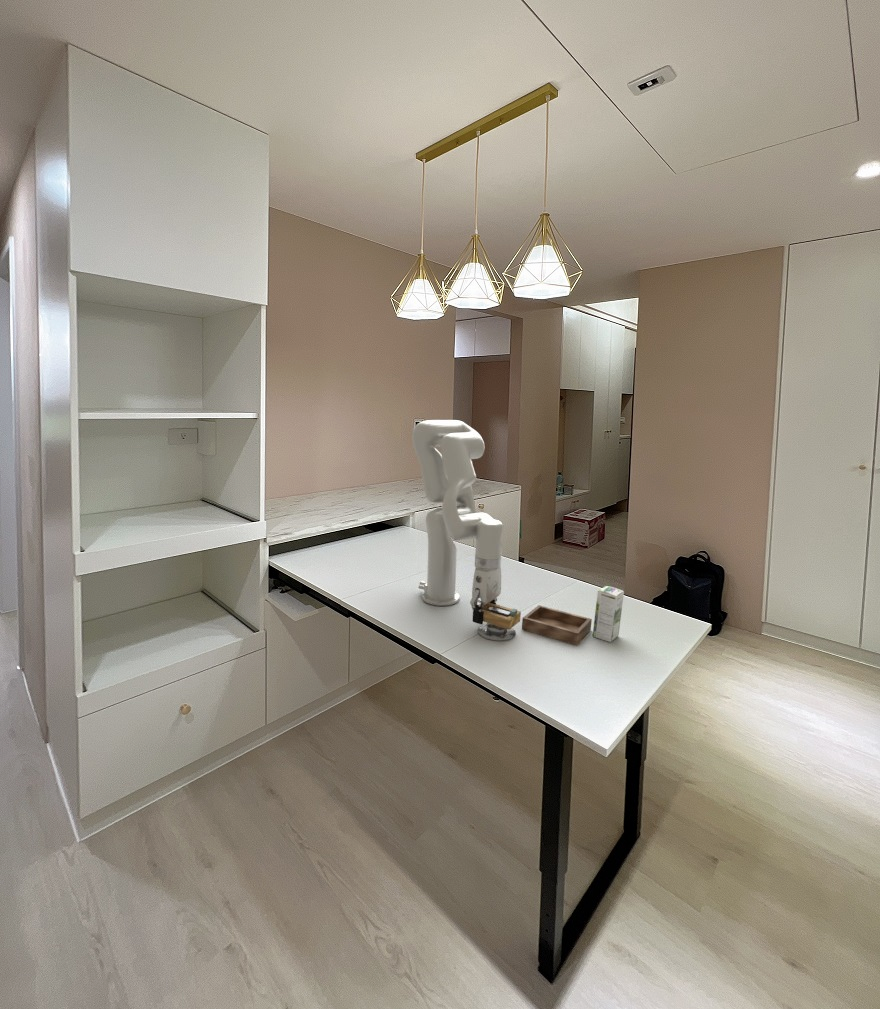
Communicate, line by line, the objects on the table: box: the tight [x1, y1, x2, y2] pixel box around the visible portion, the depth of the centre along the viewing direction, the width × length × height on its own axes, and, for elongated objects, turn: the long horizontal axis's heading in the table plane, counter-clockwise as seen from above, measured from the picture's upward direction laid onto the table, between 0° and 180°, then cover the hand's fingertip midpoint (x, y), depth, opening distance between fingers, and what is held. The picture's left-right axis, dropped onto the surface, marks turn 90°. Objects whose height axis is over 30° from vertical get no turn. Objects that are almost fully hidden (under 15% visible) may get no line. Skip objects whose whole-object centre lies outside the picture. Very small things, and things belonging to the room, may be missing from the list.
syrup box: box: [592, 585, 625, 643], centre depth 155 cm, size 6×6×14 cm
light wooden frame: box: [478, 603, 522, 630], centre depth 156 cm, size 7×12×4 cm, turn 56°
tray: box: [521, 604, 593, 646], centre depth 159 cm, size 17×12×4 cm
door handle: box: [477, 607, 517, 642], centre depth 156 cm, size 11×11×7 cm
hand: (484, 617), depth 159 cm, fingers closed on light wooden frame, 7 cm apart
